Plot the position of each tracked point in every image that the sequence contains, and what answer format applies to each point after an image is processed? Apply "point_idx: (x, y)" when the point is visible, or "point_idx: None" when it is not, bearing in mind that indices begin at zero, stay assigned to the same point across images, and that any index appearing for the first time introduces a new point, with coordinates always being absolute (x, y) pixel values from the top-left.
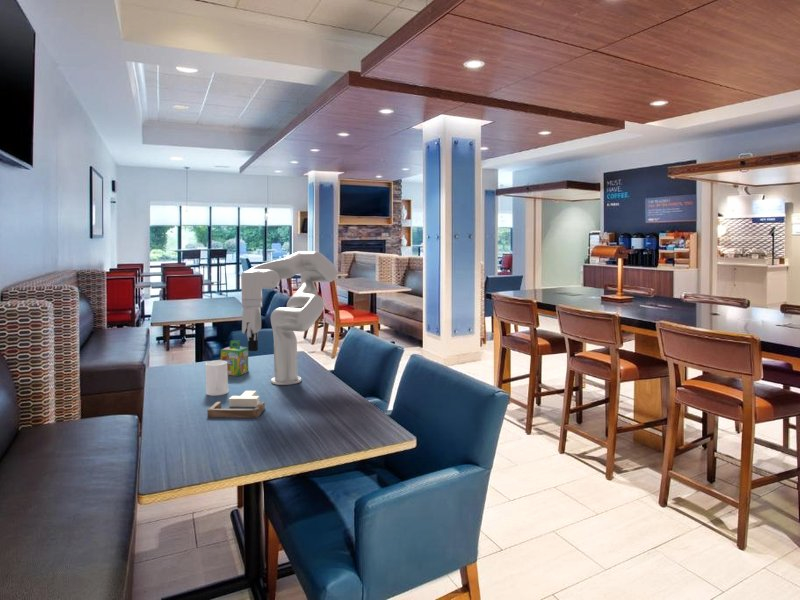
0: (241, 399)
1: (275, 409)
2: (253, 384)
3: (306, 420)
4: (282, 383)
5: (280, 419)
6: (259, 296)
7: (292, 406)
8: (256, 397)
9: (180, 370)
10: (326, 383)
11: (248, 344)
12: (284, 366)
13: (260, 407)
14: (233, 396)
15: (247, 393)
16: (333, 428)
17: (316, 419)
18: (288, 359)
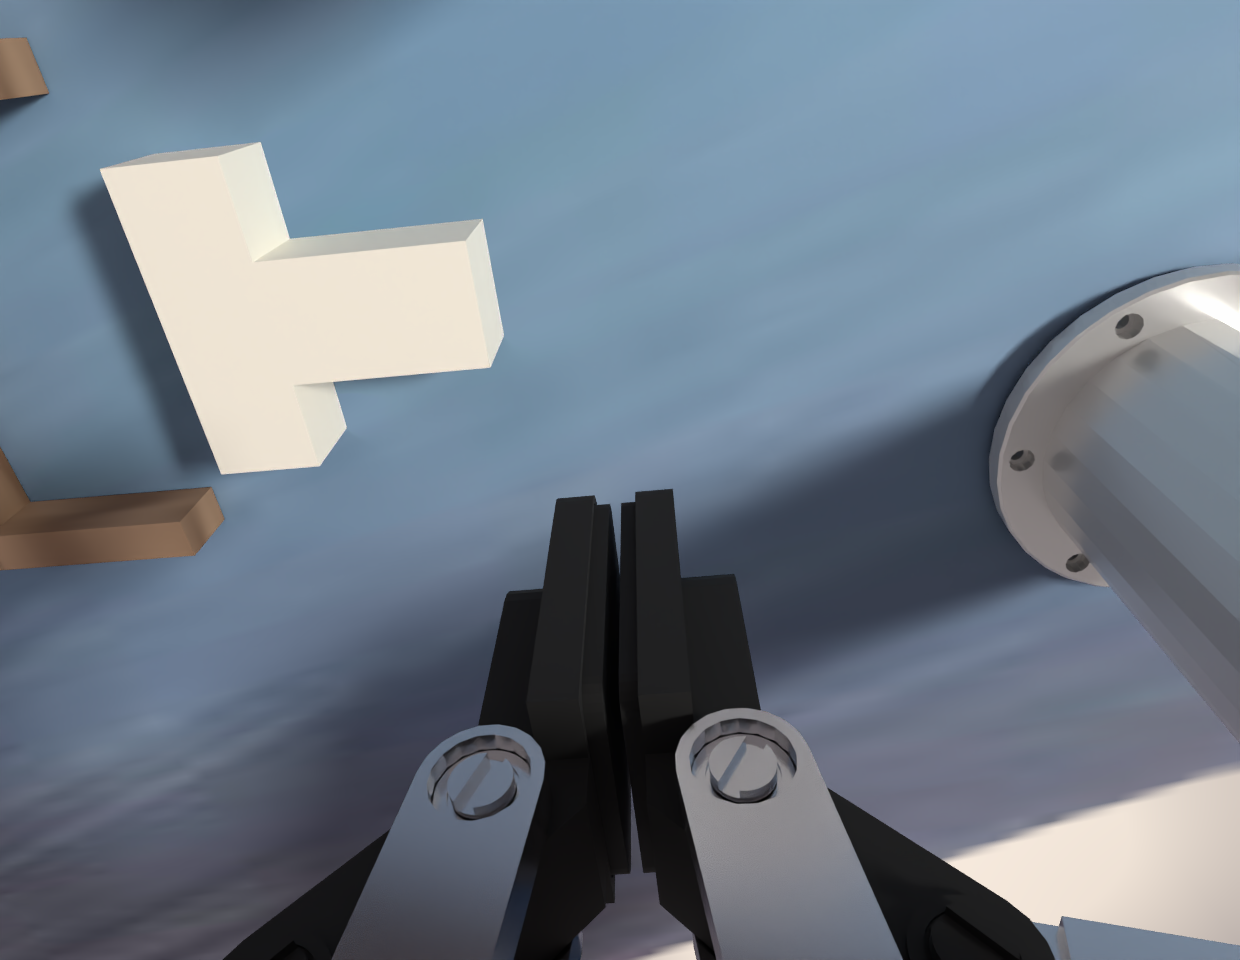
0: (165, 319)
1: (249, 596)
2: (1093, 64)
3: (127, 813)
4: (995, 456)
5: (65, 685)
6: None
7: (361, 683)
8: (258, 459)
9: None
10: (1023, 763)
11: (542, 611)
12: (1138, 580)
13: (66, 562)
14: (197, 188)
15: (361, 310)
16: (79, 932)
17: (169, 851)
18: (1200, 690)
